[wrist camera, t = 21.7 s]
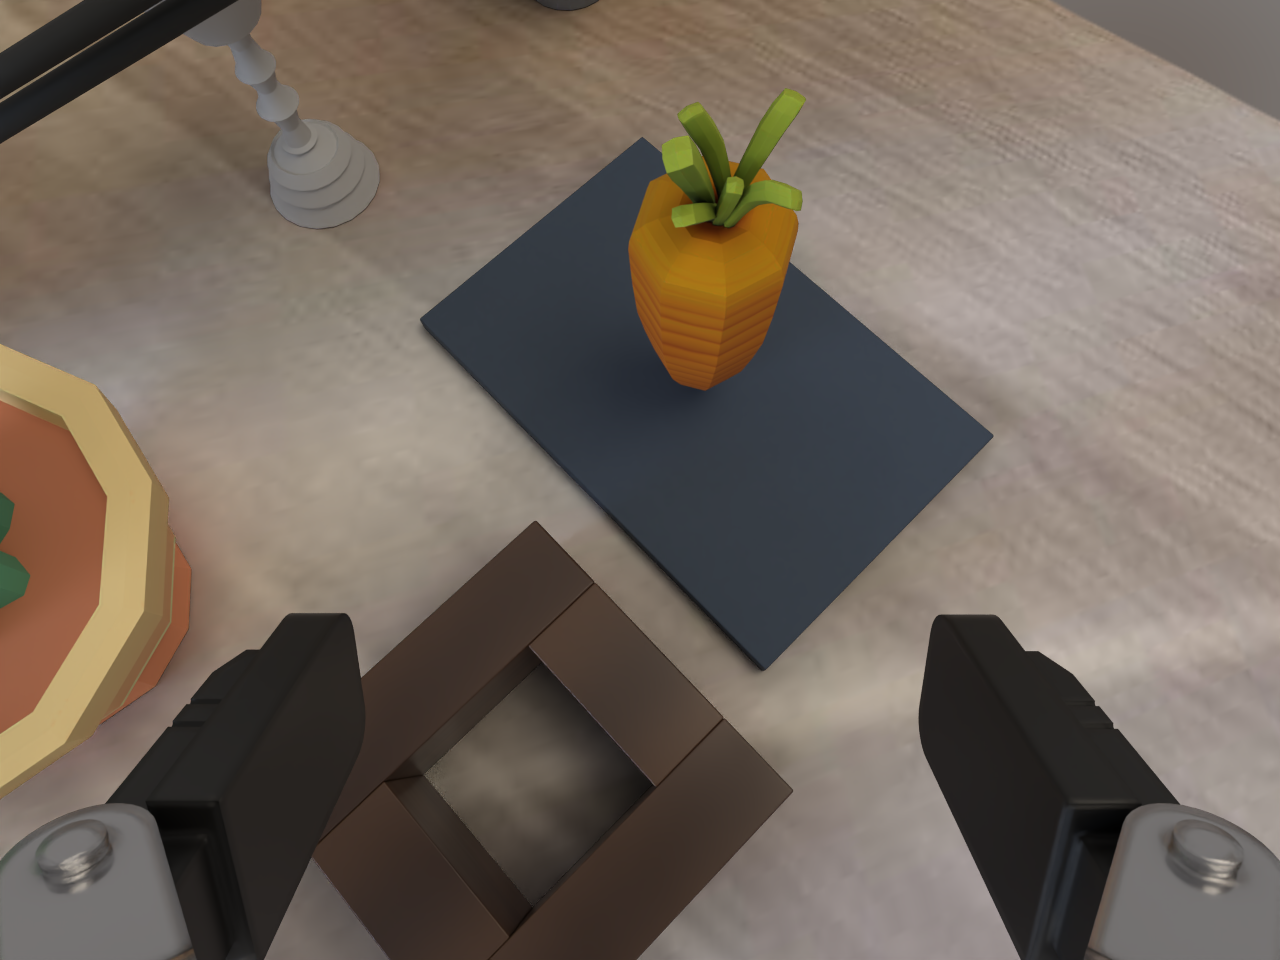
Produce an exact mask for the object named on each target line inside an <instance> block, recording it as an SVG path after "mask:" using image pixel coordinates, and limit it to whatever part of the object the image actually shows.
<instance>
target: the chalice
mask: <svg viewBox="0 0 1280 960" xmlns="http://www.w3.org/2000/svg"><path fill="white" fill-rule="evenodd" d="M163 1H165V0H162V1H161V2H159V3H158V4H160V3H162V2H163ZM158 4H156V5H154V6H153V7H151V8H149V9H148V10H146V11H144V12H145V13H146V12H147V11H149V10H150V9H152V8H154V7H155V6H157V5H158ZM260 15H261V0H238V1H236V2H235V3H233V4H231V5H230V6H228V7H227V8H225V9H223V10H222V11H220V12H218V13H217V14H215V15H213V16H212V17H210V18H208V19H207V20H205V21H203V22H202V23H200V24H198V25H197V26H195V27H193V28H192V29H190V30H188V31H187V32H185V33H183V34H184V35H186V36H188V37H190V38H191V39H193V40H195V41H197V42H199V43H201V44H203V45H207V46H214V47H218V46H225V45H228V46H229V47H230V48H231V51H232V54H233V56H234V59H235V62H236V65H235V74H236V77H237V78H238V79H239V80H240V81H241V82H243V83H245V84H248V85H251V86H252V87H253V88H254V89H255V90H256V91H257V92H258V96H259V97H258V100H257V102H256V110H257V112H258V114H259V115H260V116H261V118H263V119H265V120H267V121H272V122H275V123H276V124H277V125H278V126H279V127H280V128H281V130H280V131H279V132H278V133H277V135H276V136H275V137H274V139H273V141H272V144H271V147H270V149H269V152H268V155H267V166H268V168H269V181H270V195H271V198H272V200H273V203H274V205H275V208H276V209H277V210H278V211H279V212H280V213H281V214H282V215H283V217H284V218H285V219H287V220H289V221H291V222H293V223H295V224H297V225H299V226H302V227H308V228H315V229H320V228H327V227H334V226H337V225H340V224H342V223H344V222H347V221H349V220H351V219H353V218H354V217H355V216H357V215H358V214H359V213H360V212H362V211H363V210H364V209H365V208H366V207H367V206H368V204H369V203H370V201H371V200H372V199H373V197H374V196H375V194H376V191H377V187H378V184H379V181H380V176H379V165H378V163H377V160H376V158H375V156H374V154H373V152H372V151H371V150H370V149H369V148H368V147H367V146H365V145H364V144H363V143H362V142H360V141H358V140H356V139H354V138H353V137H352V136H351V135H350V134H349V133H347V132H344V131H343V130H342V129H341V128H340V127H339V126H337V125H335V124H333V123H331V122H329V121H324V120H316V119H304V120H301V119H300V118H299V116H298V113H297V110H296V109H297V107H298V104H299V96H298V93H297V92H296V91H295V90H294V88H292V87H290V86H288V85H282V84H281V83H280V82H279V81H277V80H276V75H275V68H276V60H275V57H274V56H273V55H272V54H271V53H270V52H268V51H266V50H264V49H262V48H261V47H260V46H259V45H258V44H257V43H256V42H255V41H254V40H253V38H252V37H251V36H250V32H251V31H252V30H253V28H254V27H255V26H256V25H257V23H258V20H259V18H260Z"/></svg>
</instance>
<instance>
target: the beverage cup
mask: <svg viewBox="0 0 1280 960" xmlns="http://www.w3.org/2000/svg"><path fill="white" fill-rule="evenodd" d="M536 1H538V2H539V3H541V4H542V5H544V6H547V7H550V8H553V9H557V10H574V9H579V8H584V7H587V6H589V5H591V4H593V3H595V2H597V1H598V0H536Z"/></svg>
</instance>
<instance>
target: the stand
mask: <svg viewBox="0 0 1280 960" xmlns="http://www.w3.org/2000/svg"><path fill="white" fill-rule="evenodd" d="M541 662H543V663H544V664H545V665H546V666H547V668H548V669H549V670H550V671H551V672H552V673H553V674H554V675H555V676H556V678H557V679H558V680H559V681H560V682H561V683H562V684H563V685H564V686H565V687H566V689H567V690H568V691H569V692H570V693H571V694H572V695H573V696H574V697H575V699H576V700H577V701H578V702H579V703H580V704H581V705H582V706H583V707H584V708H585V710H586V711H587V712H588V713H589V714H590V715H591V716H592V717H593V718H594V720H595V721H596V722H597V723H598V724H599V725H600V726H601V727H602V728H603V729H604V731H605V732H606V733H607V734H608V735H609V736H610V737H611V738H612V739H613V741H614V742H615V743H616V744H617V745H618V746H619V747H620V748H621V749H622V750H623V752H624V753H625V754H626V755H627V756H628V757H629V758H630V759H631V760H632V762H633V763H634V764H635V765H636V766H637V767H638V768H639V769H640V770H641V771H642V773H643V774H644V775H645V776H646V777H647V778H648V779H649V780H650V781H651V783H652V784H653V785H652V786H651V787H650V788H649V789H648V790H647V791H646V792H645V793H644V794H643V795H642V796H641V797H640V798H639V799H638V800H637V801H636V802H635V803H634V804H633V805H632V806H631V807H630V808H629V809H628V810H627V811H626V813H625V814H624V815H623V816H622V817H621V818H620V819H619V820H618V821H617V822H616V823H615V824H614V825H613V826H612V827H611V828H610V829H609V830H608V831H607V832H606V833H605V834H604V835H603V836H602V837H601V838H600V839H599V840H598V841H597V842H596V843H595V844H594V845H593V846H592V847H591V848H590V849H589V850H588V851H587V852H586V853H585V854H584V855H583V857H582V858H581V859H580V860H579V861H578V862H577V863H576V864H575V865H574V866H573V867H572V868H571V869H570V870H569V871H568V872H567V873H566V874H565V875H564V876H563V877H562V878H561V879H560V880H559V881H558V882H557V883H556V884H555V885H554V886H553V887H552V888H551V889H550V890H549V891H548V892H547V893H546V894H545V895H544V896H543V897H542V898H541V899H540V900H539V902H538V903H537V904H536V905H535V906H534V907H533V908H532V906H531V905H530V903H529V902H528V901H527V900H526V899H525V897H524V896H523V895H522V894H521V892H520V891H519V890H518V889H517V888H516V886H515V885H514V884H513V883H512V882H511V880H510V879H509V878H508V877H507V875H506V874H505V873H504V872H503V871H502V869H501V868H500V867H499V866H498V865H497V863H496V862H495V861H494V860H493V858H492V857H491V856H490V855H489V854H488V852H487V851H486V850H485V849H484V848H483V846H482V845H481V844H480V843H479V842H478V840H477V839H476V838H475V837H474V835H473V834H472V833H471V832H470V831H469V829H468V828H467V827H466V826H465V825H464V823H463V822H462V821H461V820H460V818H459V817H458V816H457V815H456V814H455V812H454V811H453V810H452V809H451V808H450V806H449V805H448V804H447V803H446V801H445V800H444V799H443V798H442V797H441V795H440V794H439V793H438V792H437V791H436V789H435V788H434V787H433V786H432V784H431V783H430V782H429V781H428V780H427V778H426V777H425V776H424V775H423V774H425V773H426V772H427V771H428V770H429V769H430V768H431V767H432V766H433V765H434V764H435V763H436V762H437V761H438V760H439V759H440V758H441V757H442V756H443V755H444V754H446V753H447V752H448V751H449V750H450V749H451V748H452V747H453V746H454V745H455V744H456V743H457V742H458V741H459V740H460V739H461V738H462V737H463V736H464V735H465V734H467V733H468V732H469V731H470V730H471V729H472V728H473V727H474V726H475V725H476V724H477V723H478V722H479V721H480V720H481V719H482V718H483V717H484V716H485V715H487V714H488V713H489V712H490V711H491V710H492V709H493V708H494V707H495V706H496V705H497V704H498V703H499V702H500V701H501V700H502V699H503V698H504V697H505V696H506V695H508V694H509V693H510V692H511V691H512V690H513V689H514V688H515V687H516V686H517V685H518V684H519V683H520V682H521V681H522V680H523V679H524V678H525V677H526V676H527V675H529V674H530V673H531V672H532V671H533V670H534V669H535V668H536V667H537V666H538V665H539V664H540V663H541ZM361 683H362V689H363V696H364V703H365V714H366V718H365V732H364V738H363V743H362V747H361V750H360V753H359V755H358V758H357V760H356V762H355V764H354V766H353V769H352V771H351V773H350V775H349V777H348V779H347V781H346V784H345V786H344V788H343V790H342V792H341V794H340V796H339V799H338V801H337V803H336V805H335V807H334V809H333V812H332V814H331V816H330V818H329V820H328V822H327V824H326V827H325V829H324V831H323V833H322V835H321V837H320V840H319V842H318V844H317V846H316V848H315V850H314V852H313V855H312V859H313V860H314V861H315V863H316V864H317V865H318V867H319V868H320V869H321V871H322V872H323V873H324V875H325V876H326V877H327V879H328V880H329V881H330V882H331V884H332V885H333V886H334V888H335V889H336V890H337V892H338V893H339V894H340V896H341V897H342V898H343V900H344V901H345V902H346V904H347V905H348V906H349V907H350V909H351V910H352V911H353V913H354V914H355V915H356V917H357V918H358V919H359V921H360V922H361V923H362V925H363V926H364V927H365V928H366V930H367V931H368V932H369V934H370V935H371V936H372V938H373V939H374V940H375V942H376V943H377V944H378V946H379V947H380V948H381V950H382V951H383V952H384V953H385V955H386V956H387V957H388V959H389V960H637V959H638V957H639V956H640V955H641V954H642V953H643V952H644V951H645V950H646V949H647V948H648V947H649V946H650V945H651V944H652V942H653V941H654V940H655V939H656V938H657V937H658V936H659V935H660V934H661V933H662V932H663V931H664V930H665V929H666V927H667V926H668V925H669V924H670V923H671V922H672V921H673V920H674V919H675V918H676V917H677V916H678V915H679V914H680V912H681V911H682V910H683V909H684V908H685V907H686V906H687V905H688V904H689V903H690V902H691V901H692V900H693V898H694V897H695V896H696V895H697V894H698V893H699V892H700V891H701V890H702V889H703V888H704V887H705V886H706V885H707V883H708V882H709V881H710V880H711V879H712V878H713V877H714V876H715V875H716V874H717V873H718V872H719V871H720V870H721V868H722V867H723V866H724V865H725V864H726V863H727V862H728V861H729V860H730V859H731V858H732V857H733V856H734V855H735V853H736V852H737V851H738V850H739V849H740V848H741V847H742V846H743V845H744V844H745V843H746V842H747V841H748V840H749V838H750V837H751V836H752V835H753V834H754V833H755V832H756V831H757V830H758V829H759V828H760V827H761V826H762V825H763V823H764V822H765V821H766V820H767V819H768V818H769V817H770V816H771V815H772V814H773V813H774V812H775V811H776V809H777V808H778V807H779V806H780V805H781V804H782V803H783V802H784V801H785V800H786V799H787V798H788V797H789V796H790V794H791V793H792V792H793V789H792V788H791V787H790V786H789V785H788V784H787V783H786V782H785V781H784V780H783V779H782V778H781V777H780V776H779V775H778V774H777V773H776V772H775V770H774V769H773V768H772V767H771V766H770V765H769V764H768V763H767V762H766V761H765V760H764V759H763V758H762V757H761V756H760V755H759V754H758V753H757V752H756V751H755V750H754V748H753V747H752V746H751V745H750V744H749V743H748V742H747V741H746V740H745V739H744V738H743V737H742V736H741V735H740V734H739V733H738V732H737V731H736V730H735V729H734V727H733V726H732V725H731V724H730V723H729V722H728V721H727V720H726V719H723V716H722V715H721V714H720V713H719V712H718V711H717V710H716V709H715V708H714V707H713V705H712V704H711V703H710V702H709V701H708V700H707V699H706V698H705V697H704V696H703V695H702V694H701V693H700V692H699V691H698V690H697V689H696V688H695V687H694V686H693V684H692V683H691V682H690V681H689V680H688V679H687V678H686V677H685V676H684V675H683V674H682V673H681V672H680V671H679V670H678V669H677V668H676V667H675V666H674V665H673V663H672V662H671V661H670V660H669V659H668V658H667V657H666V656H665V655H664V654H663V653H662V652H661V651H660V650H659V649H658V648H657V647H656V646H655V645H654V644H653V643H652V641H651V640H650V639H649V638H648V637H647V636H646V635H645V634H644V633H643V632H642V631H641V630H640V629H639V628H638V627H637V626H636V625H635V624H634V623H633V622H632V620H631V619H630V618H629V617H628V616H627V615H626V614H625V613H624V612H623V611H622V610H621V609H620V608H619V607H618V606H617V605H616V604H615V603H614V602H613V601H612V600H611V598H610V597H609V596H608V595H607V594H606V593H605V592H604V591H603V590H602V589H601V588H600V587H599V586H598V585H597V584H596V583H594V581H593V580H592V579H591V578H590V576H589V575H588V574H587V573H586V572H585V571H584V570H583V569H582V568H581V567H580V566H579V565H578V564H577V563H576V562H575V561H574V560H573V559H572V558H571V557H570V555H569V554H568V553H567V552H566V551H565V550H564V549H563V548H562V547H561V546H560V545H559V544H558V543H557V542H556V541H555V540H554V539H553V538H552V537H551V536H550V535H549V533H548V532H547V531H546V530H545V529H544V528H543V527H542V526H541V525H540V524H539V523H538V522H537V521H534V522H533V523H532V524H530V525H529V526H528V527H527V528H526V529H525V530H524V531H523V532H522V533H521V534H519V535H518V536H517V537H516V538H515V539H514V540H513V541H512V542H511V543H509V544H508V545H507V546H506V547H505V548H504V549H503V550H502V551H501V552H500V553H498V554H497V555H496V556H495V557H494V558H493V559H492V560H491V561H490V562H489V563H487V564H486V565H485V566H484V567H483V568H482V569H481V570H480V571H479V572H478V573H476V574H475V575H474V576H473V577H472V578H471V579H470V580H469V581H468V582H467V583H465V584H464V585H463V586H462V587H461V588H460V589H459V590H458V591H457V592H455V593H454V594H453V595H452V596H451V597H450V598H449V599H448V600H447V601H446V602H444V603H443V604H442V605H441V606H440V607H439V608H438V609H437V610H436V611H435V612H433V613H432V614H431V615H430V616H429V617H428V618H427V619H426V620H425V621H424V622H422V623H421V624H420V625H419V626H418V627H417V628H416V629H415V630H414V631H413V632H411V633H410V634H409V635H408V636H407V637H406V638H405V639H404V640H403V641H401V642H400V643H399V644H398V645H397V646H396V647H395V648H394V649H393V650H392V651H390V652H389V653H388V654H387V655H386V656H385V657H384V658H383V659H382V660H381V661H379V662H378V663H377V664H376V665H375V666H374V667H373V668H372V669H371V670H370V671H368V672H367V673H366V674H365V675H364V676H363V677H362V678H361Z"/></svg>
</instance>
